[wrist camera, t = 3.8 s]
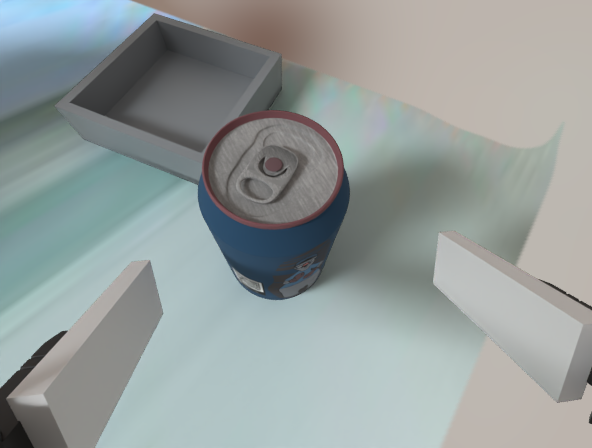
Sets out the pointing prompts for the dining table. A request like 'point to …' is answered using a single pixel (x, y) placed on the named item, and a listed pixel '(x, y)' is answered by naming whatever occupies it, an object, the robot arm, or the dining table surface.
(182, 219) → the dining table surface
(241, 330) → the dining table surface
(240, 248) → the soda can
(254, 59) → the bin
